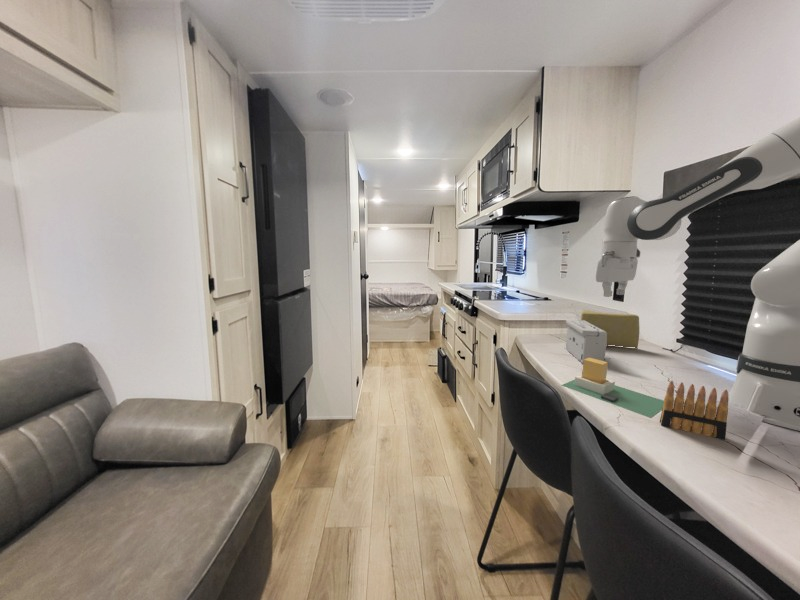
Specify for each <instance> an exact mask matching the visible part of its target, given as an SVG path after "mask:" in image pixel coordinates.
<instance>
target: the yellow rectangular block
mask: <svg viewBox="0 0 800 600" xmlns="http://www.w3.org/2000/svg"><path fill="white" fill-rule="evenodd" d="M582 365H583V366H582V371H581V372H582V373H581V376H582V378H584V379H587V380H590V381H593V382H596V383H599V384H604V383H606V379H607V373H608V365H609V361H605V360H604V361H601V360H597V359H593V358H587V359H584V363H583V364H582Z"/></svg>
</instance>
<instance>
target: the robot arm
mask: <svg viewBox="0 0 800 600" xmlns="http://www.w3.org/2000/svg"><path fill="white" fill-rule="evenodd" d="M798 174H800V117H798V118H796V119H794V120H792V121H790V122H789V123H787V124H785V125H783V126H781V127H779V128H777V129H776V130H774V131H772V132H771V133H769V134H768V135H765V136H764V137H762V138H761V139H759V140H758V141H756V142H755V143H753V144H752V145H750V146H749V147H747V148H746V149H744V150H742V152H740V153H738V154H737V155H735V156H734V157H733V158H732V159H731V160H729V161H728V162H726V163H724V164H723V165H721V166H720V167H719V168H717V169H715V170H713V171H712V172H710V173H709V174H707V175H705V176H703V177H701V178H700V179H698V180H696V181H694V182H692V183H690V184H688V185H687V186H685V187H683V188H681V189H679V190H677V191H676V192H673V194H670V195H668V196H665V197H662V198H658V199H652V200H649V201H647V200H643V199H642V198H640V197H639V196H625V197H621V198H619V199H616V200H613V201H611V203H610V204H609V205H608V206H607V208H606V212H605V217H604V224H603V231H604V236H603V239H602V245H601V254H600V255H601V256H600V258H599V259H598V262H597V265H596V266H597V267H596V272H595V273H596V274H595V281H596V282H597V283H602V290H603V297H604V298H605V297H606V298H610V297H612V296H613V291H612V286H613V283H614V282H615V283H618V287H617V289H616V292H615V293H616V295H617V296H618V295H619V296H623V295H625V293H626V292H625V291H626V289H627V286H628V281H629V282H630V281H633V280H635V278H636V274H637V268H638V261H639V258H640V257H641V250H640V249H639V248H638V246H637V245H638V240H642V241H643V240H644V241H651V240H652V241H661V240H662V241H663V240H665V239H668V238H670V237H672V236H674V235H675V234H676V233H677V232H678V231H679V229H680V228H681V225H682V219H684V218H685V217H686V216H689V215H690V214H692V213H694V212H695V211H697V210H699V209H701V208H704V207H705V206H707V205H709V204H712V203H713V202H715V201H717V200H719V199H722V198H724V197H726V196H728V195H732V194H734V193H738V192H743V191H744V192H745V191H750V190H761V189H764V188H767V187H770V186H772V185H776V184H777V183H781V182H782V181H785V180H788V179H790V178H792V177H794V176H796V175H798ZM750 289H751V292H752V294H753V295H754V297H755V299H754V302H753V305H752V310H751V313H750V317H749V319H748V322H747V325H746V331H745V337H744V340H743V341H744V342H743V348H742V352H740V353H739V355H738V358H737V363H736V368H735V369H736V373H737V374H736V376H735V379H734V382H733V385H732V387H731V389H730V391H729V392H728V396H729V400H728V405H733V406H735V407H739V408H741V409H744V410H745V411H747V412H748V413H750V414H752V415H753V416H756V417H760V418H763V419H762V421H761V422H762V423H768V424H771V425H775V426H779V427H783V428H786V429H790V430H795V431H799V432H800V239H798V240H797V241H796V242H795V243H793V244H791V245H790V246H789V247H788V248H786V249H785V250H784V251H782V252H781V253H780V254H778V255H777V256H776V257H775V258H773V259H772V260H770V262H768V263H767V264H765V265H764V266H763V267H761V269H759V270H758V271H757V272H756V273H755V274H754V275H753V277H752V278H751V282H750Z"/></svg>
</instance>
